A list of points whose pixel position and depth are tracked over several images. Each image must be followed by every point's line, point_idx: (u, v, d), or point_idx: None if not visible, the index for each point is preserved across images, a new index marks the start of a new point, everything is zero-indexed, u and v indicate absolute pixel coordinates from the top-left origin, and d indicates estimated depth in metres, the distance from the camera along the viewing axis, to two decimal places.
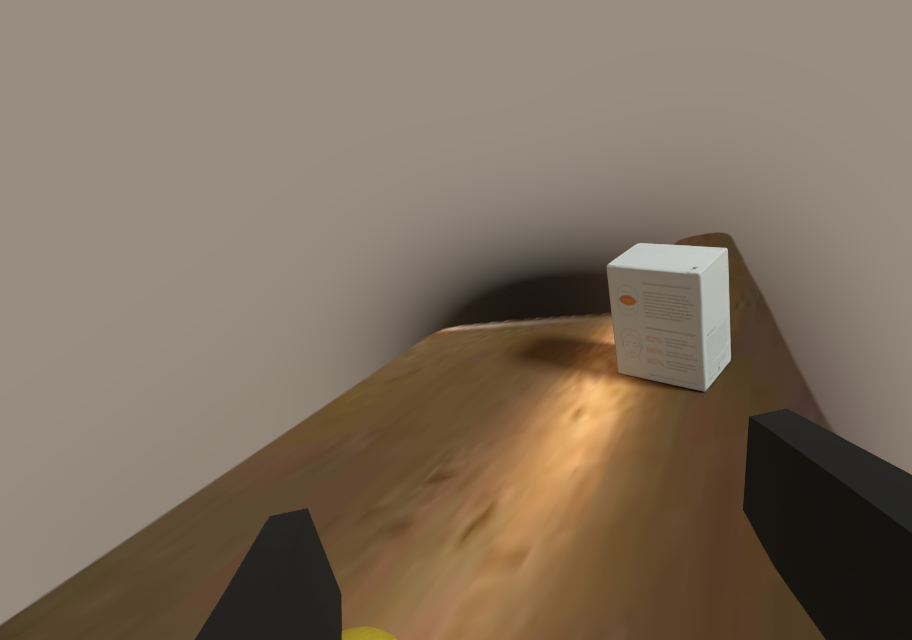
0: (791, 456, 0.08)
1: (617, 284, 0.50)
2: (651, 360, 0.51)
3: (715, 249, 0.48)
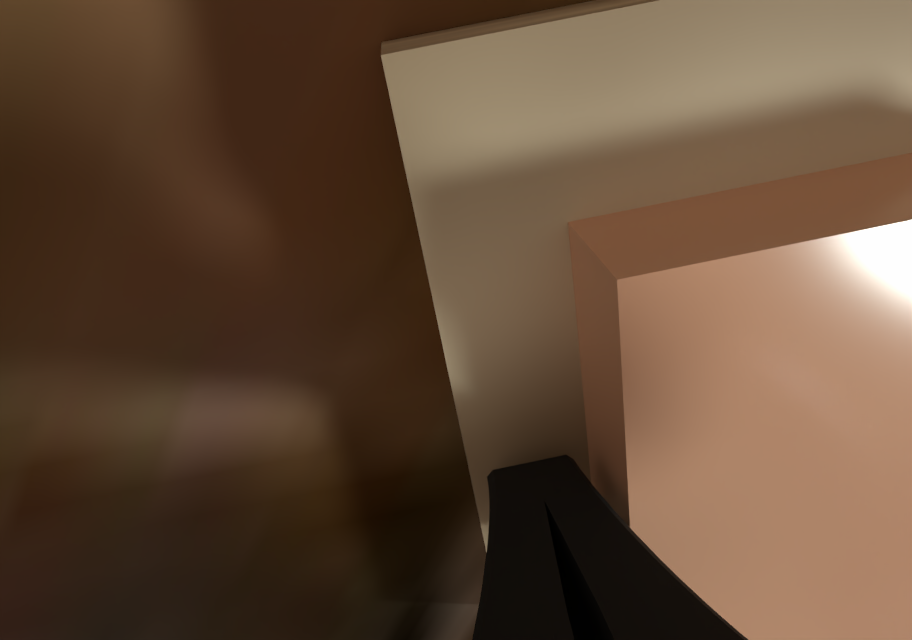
0: None
1: None
2: None
3: None
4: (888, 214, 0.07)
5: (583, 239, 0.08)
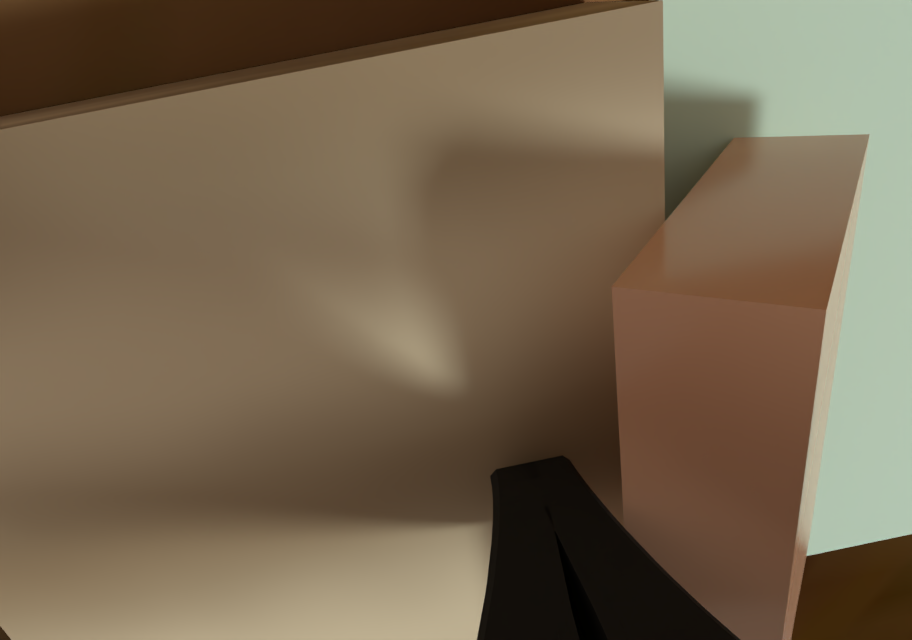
0: None
1: None
2: None
3: None
4: (832, 192, 0.08)
5: (680, 294, 0.06)
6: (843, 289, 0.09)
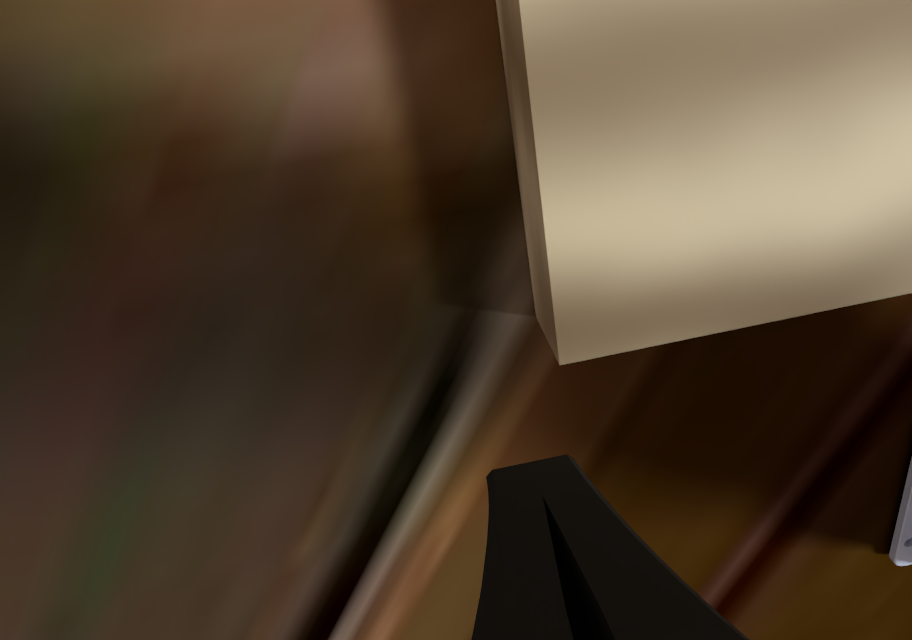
0: (545, 507, 0.08)
1: None
2: None
3: None
4: None
5: None
6: None
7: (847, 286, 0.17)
